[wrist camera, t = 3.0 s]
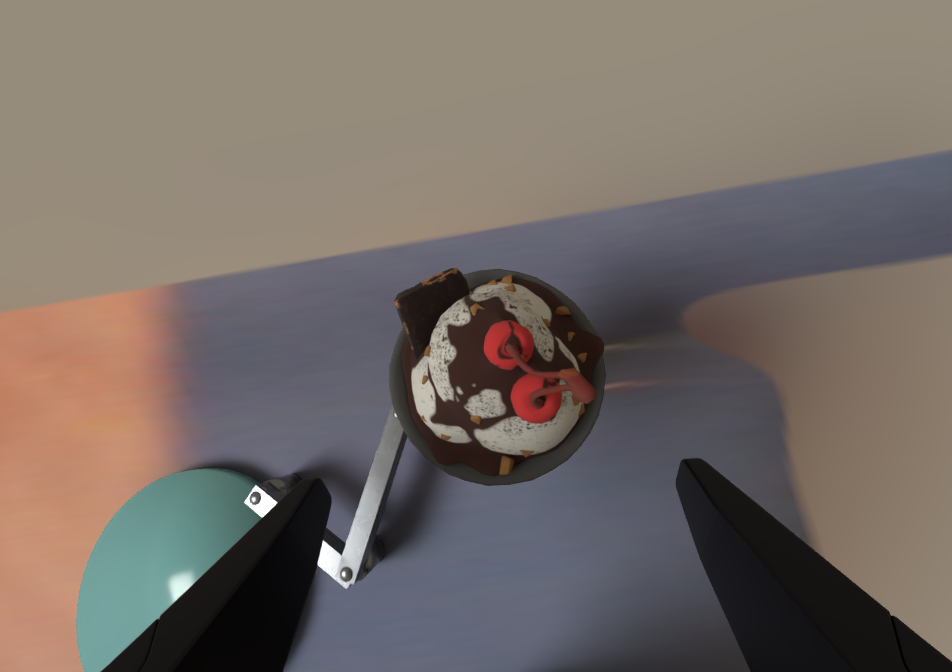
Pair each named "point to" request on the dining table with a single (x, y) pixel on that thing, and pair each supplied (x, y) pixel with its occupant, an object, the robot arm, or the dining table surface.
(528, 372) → the sundae
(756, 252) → the dining table surface
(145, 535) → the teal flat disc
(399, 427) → the jointed flat metal bars
